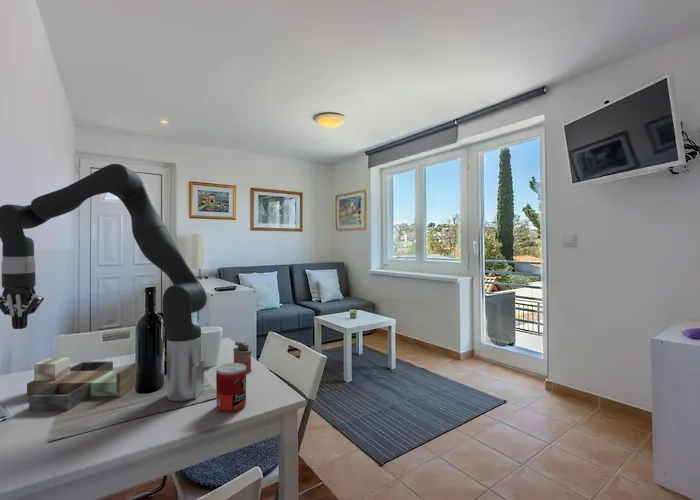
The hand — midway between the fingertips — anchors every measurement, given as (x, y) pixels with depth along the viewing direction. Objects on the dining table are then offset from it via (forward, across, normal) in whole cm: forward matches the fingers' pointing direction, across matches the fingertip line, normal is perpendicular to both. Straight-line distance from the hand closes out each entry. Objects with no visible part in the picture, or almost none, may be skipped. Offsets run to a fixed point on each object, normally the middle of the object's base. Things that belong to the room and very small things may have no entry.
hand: (19, 328), depth 108 cm
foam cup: (+19, -49, -22) cm, 57 cm away
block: (+15, -10, 0) cm, 18 cm away
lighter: (+19, -63, -15) cm, 68 cm away
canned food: (+19, -67, +13) cm, 71 cm away
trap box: (+19, -19, 0) cm, 27 cm away
